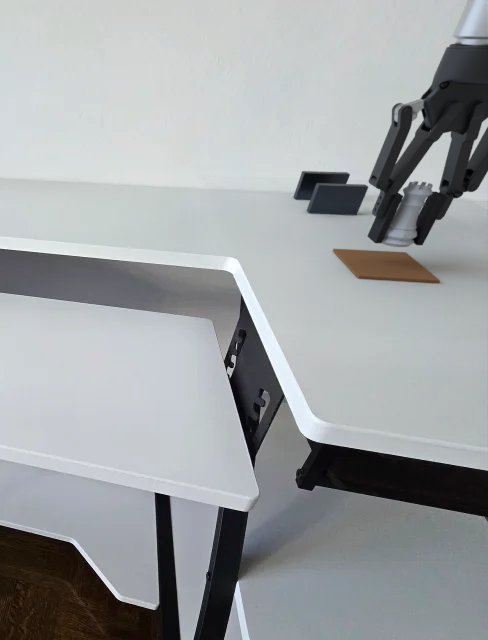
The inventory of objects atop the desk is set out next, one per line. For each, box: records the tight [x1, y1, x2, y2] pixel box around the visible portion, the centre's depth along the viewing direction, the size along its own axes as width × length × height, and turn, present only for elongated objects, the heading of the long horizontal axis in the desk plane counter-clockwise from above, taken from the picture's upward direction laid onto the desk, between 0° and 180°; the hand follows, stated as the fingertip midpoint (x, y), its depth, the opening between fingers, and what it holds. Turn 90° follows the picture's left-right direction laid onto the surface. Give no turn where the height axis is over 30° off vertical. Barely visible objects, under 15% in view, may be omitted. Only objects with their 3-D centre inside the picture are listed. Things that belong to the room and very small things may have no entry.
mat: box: [332, 248, 441, 284], centre depth 72 cm, size 10×10×1 cm
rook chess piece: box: [381, 180, 434, 248], centre depth 67 cm, size 4×4×8 cm
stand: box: [293, 170, 369, 216], centre depth 93 cm, size 8×10×5 cm
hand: (394, 240), depth 69 cm, fingers closed on rook chess piece, 4 cm apart
